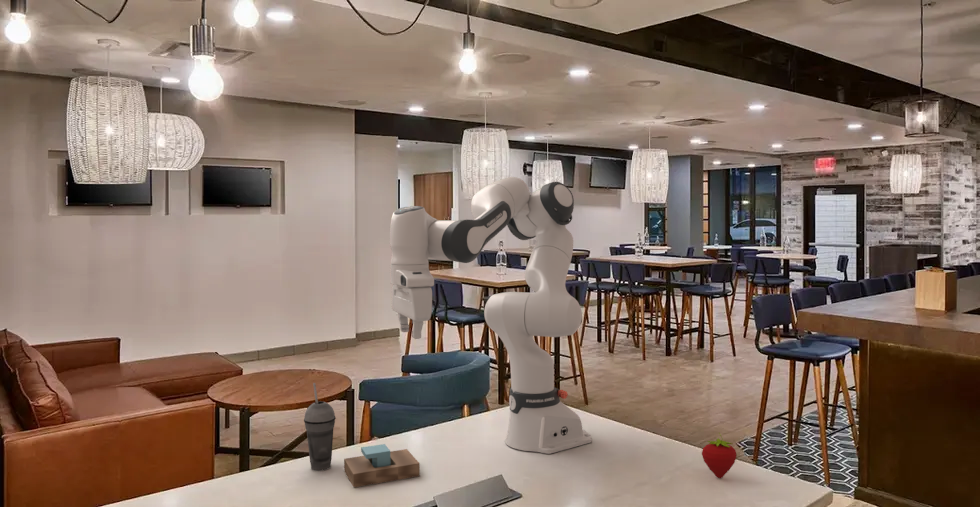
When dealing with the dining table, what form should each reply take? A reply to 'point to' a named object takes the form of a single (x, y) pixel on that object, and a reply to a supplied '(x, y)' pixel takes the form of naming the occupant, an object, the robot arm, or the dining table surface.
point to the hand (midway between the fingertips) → (410, 335)
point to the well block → (381, 469)
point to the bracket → (377, 455)
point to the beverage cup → (320, 433)
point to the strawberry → (719, 457)
